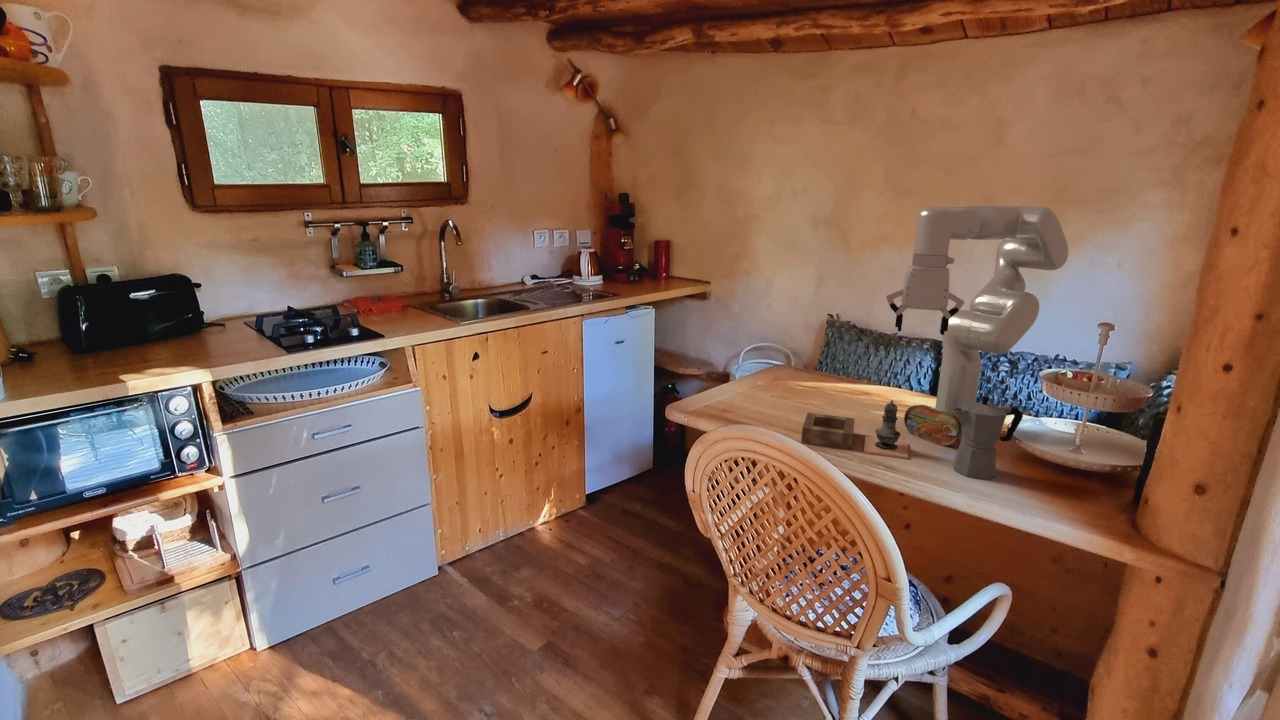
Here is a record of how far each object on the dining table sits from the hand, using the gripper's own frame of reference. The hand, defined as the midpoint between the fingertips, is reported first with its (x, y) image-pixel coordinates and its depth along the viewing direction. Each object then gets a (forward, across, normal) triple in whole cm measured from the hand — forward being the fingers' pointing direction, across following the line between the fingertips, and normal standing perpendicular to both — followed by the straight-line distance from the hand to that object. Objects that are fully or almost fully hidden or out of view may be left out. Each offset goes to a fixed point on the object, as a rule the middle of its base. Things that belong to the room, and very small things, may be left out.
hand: (920, 332), depth 158 cm
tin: (+29, -6, -3) cm, 29 cm away
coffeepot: (+28, -15, +14) cm, 35 cm away
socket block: (+28, +19, +6) cm, 35 cm away
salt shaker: (+28, +5, +8) cm, 29 cm away
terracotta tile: (+28, +5, +8) cm, 30 cm away
